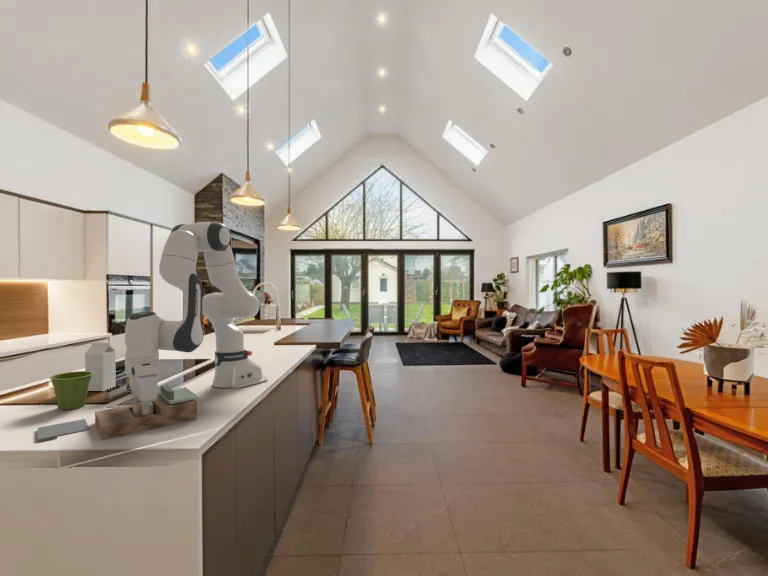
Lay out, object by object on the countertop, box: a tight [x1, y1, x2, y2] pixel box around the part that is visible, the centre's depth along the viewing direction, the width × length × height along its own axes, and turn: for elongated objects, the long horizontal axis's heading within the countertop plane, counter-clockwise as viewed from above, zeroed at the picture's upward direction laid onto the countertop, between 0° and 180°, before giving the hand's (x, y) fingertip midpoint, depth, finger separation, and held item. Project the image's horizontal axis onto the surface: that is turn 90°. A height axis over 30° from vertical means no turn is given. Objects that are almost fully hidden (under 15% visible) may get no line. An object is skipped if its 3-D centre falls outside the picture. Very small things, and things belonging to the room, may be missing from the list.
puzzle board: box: [94, 393, 198, 441], centre depth 117 cm, size 24×17×6 cm
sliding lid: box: [158, 384, 199, 404], centre depth 123 cm, size 8×14×3 cm, turn 43°
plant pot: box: [48, 370, 93, 411], centre depth 132 cm, size 12×12×11 cm
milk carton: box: [84, 342, 117, 392], centre depth 153 cm, size 7×7×19 cm
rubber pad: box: [37, 418, 90, 443], centre depth 111 cm, size 11×11×1 cm
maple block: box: [132, 402, 153, 418], centre depth 117 cm, size 4×4×6 cm
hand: (142, 410), depth 116 cm, fingers open, 8 cm apart
